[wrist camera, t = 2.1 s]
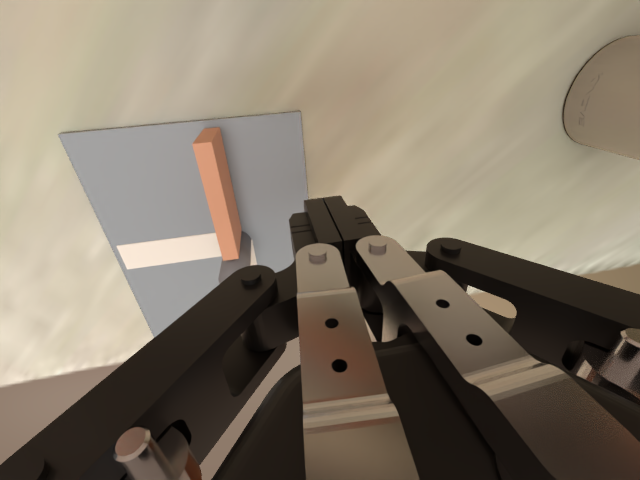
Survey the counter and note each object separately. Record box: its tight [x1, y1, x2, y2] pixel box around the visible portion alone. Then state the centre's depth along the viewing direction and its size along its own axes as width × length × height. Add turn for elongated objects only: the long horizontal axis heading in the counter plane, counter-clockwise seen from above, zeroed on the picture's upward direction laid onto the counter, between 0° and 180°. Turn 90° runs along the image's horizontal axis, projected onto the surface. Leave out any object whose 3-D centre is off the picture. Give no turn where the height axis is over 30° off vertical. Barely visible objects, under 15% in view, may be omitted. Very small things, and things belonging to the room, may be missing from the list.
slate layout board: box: [58, 111, 308, 338], centre depth 28 cm, size 18×23×6 cm
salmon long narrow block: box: [192, 127, 242, 261], centre depth 24 cm, size 9×1×5 cm, turn 4°
